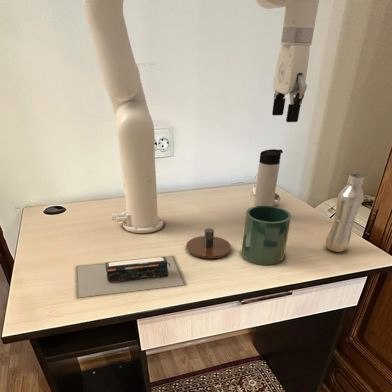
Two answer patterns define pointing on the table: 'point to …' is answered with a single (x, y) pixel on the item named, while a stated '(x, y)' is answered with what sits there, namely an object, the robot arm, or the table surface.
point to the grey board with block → (127, 276)
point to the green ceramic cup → (265, 234)
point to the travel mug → (267, 177)
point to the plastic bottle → (345, 213)
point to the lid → (208, 245)
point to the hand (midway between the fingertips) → (284, 118)
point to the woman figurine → (276, 197)
